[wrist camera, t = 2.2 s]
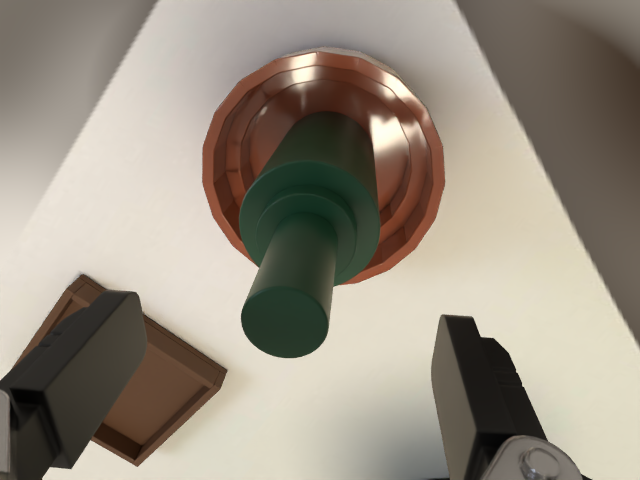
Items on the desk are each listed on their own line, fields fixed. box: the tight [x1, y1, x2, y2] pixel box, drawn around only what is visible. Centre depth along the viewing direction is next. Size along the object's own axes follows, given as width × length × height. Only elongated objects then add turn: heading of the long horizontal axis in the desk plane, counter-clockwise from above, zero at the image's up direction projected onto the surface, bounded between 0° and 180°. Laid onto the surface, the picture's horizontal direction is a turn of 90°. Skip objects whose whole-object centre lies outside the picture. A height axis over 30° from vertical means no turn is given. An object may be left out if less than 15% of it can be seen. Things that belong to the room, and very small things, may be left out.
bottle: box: [239, 111, 380, 358], centre depth 19 cm, size 6×6×16 cm
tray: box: [11, 274, 227, 467], centre depth 35 cm, size 13×13×2 cm
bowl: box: [202, 46, 445, 285], centre depth 24 cm, size 12×12×5 cm
